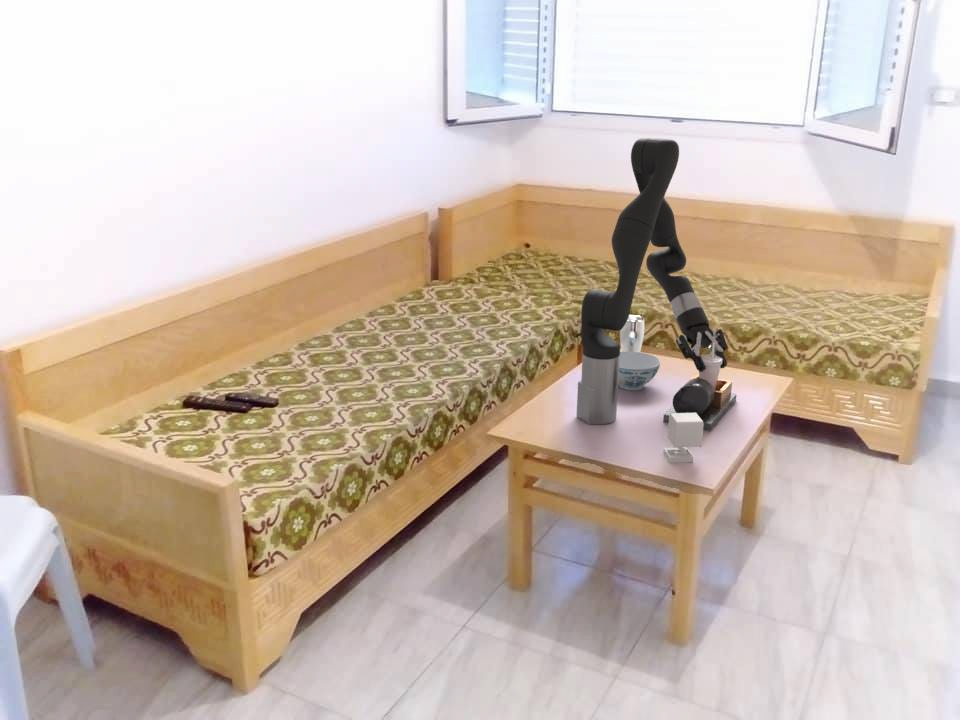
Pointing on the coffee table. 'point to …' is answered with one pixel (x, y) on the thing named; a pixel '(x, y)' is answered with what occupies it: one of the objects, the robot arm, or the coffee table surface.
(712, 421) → the motor mount
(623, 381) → the chinaware
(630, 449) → the coffee table surface
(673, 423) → the security camera
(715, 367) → the smoothie
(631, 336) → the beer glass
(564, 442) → the coffee table surface
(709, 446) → the coffee table surface
